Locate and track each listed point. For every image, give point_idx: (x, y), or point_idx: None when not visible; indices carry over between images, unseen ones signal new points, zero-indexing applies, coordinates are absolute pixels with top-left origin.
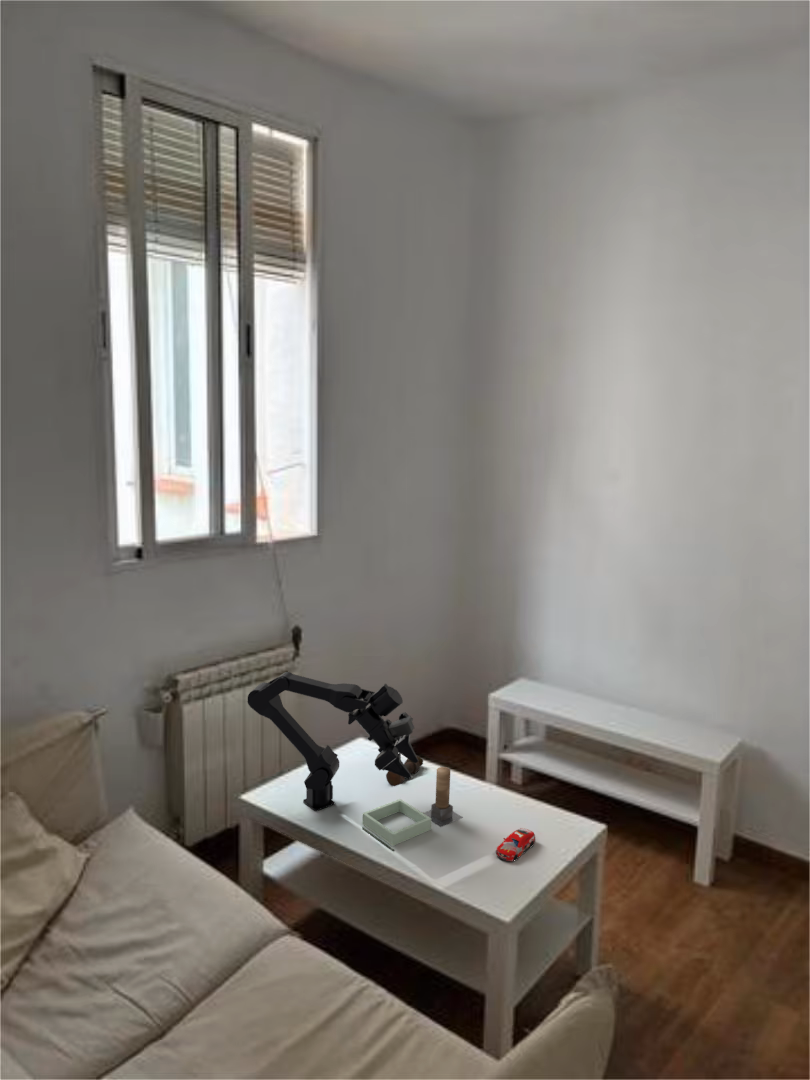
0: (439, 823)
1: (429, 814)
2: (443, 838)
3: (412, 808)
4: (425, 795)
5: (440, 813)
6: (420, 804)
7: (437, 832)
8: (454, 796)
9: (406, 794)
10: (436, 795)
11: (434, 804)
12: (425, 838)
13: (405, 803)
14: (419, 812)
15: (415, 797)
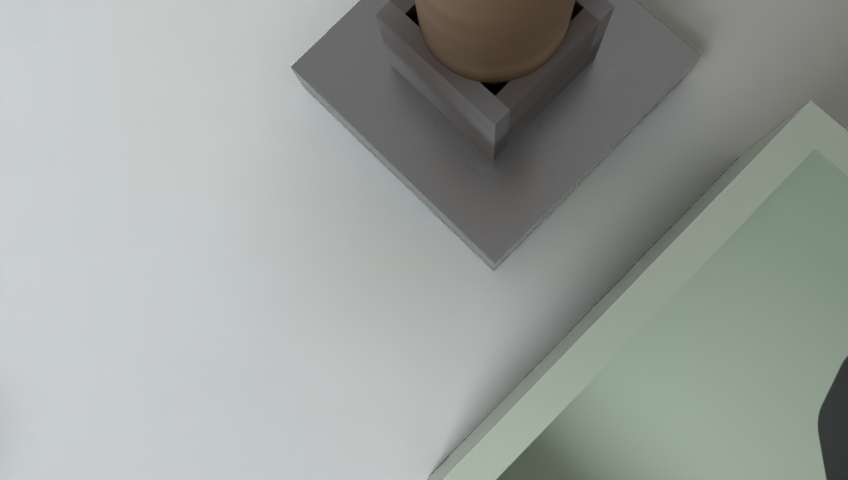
0: (635, 71)
1: (488, 175)
2: (776, 44)
3: (626, 335)
4: (56, 259)
5: (598, 35)
6: (224, 292)
7: (688, 101)
8: (58, 5)
9: (49, 444)
10: (545, 7)
11: (487, 93)
12: None
13: (524, 431)
14: (704, 244)
15: (100, 350)
